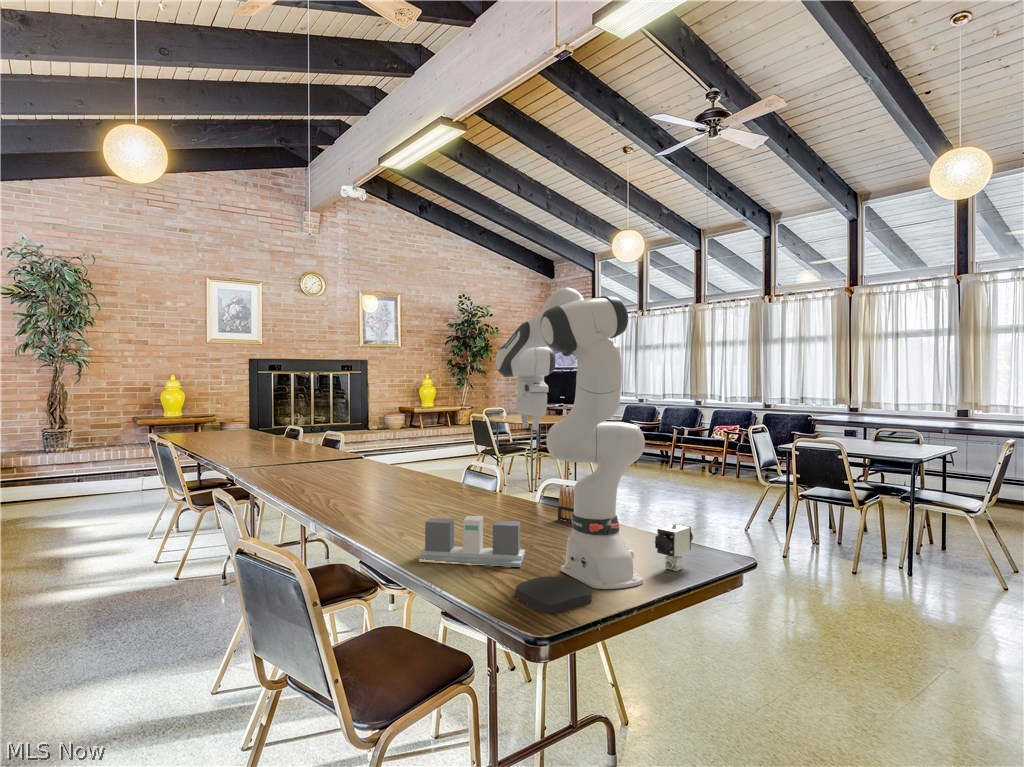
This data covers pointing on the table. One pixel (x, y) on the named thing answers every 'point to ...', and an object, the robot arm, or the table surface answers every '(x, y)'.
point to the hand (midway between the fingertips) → (530, 428)
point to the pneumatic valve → (673, 544)
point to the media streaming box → (553, 594)
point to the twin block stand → (501, 554)
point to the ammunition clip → (566, 504)
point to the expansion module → (473, 534)
